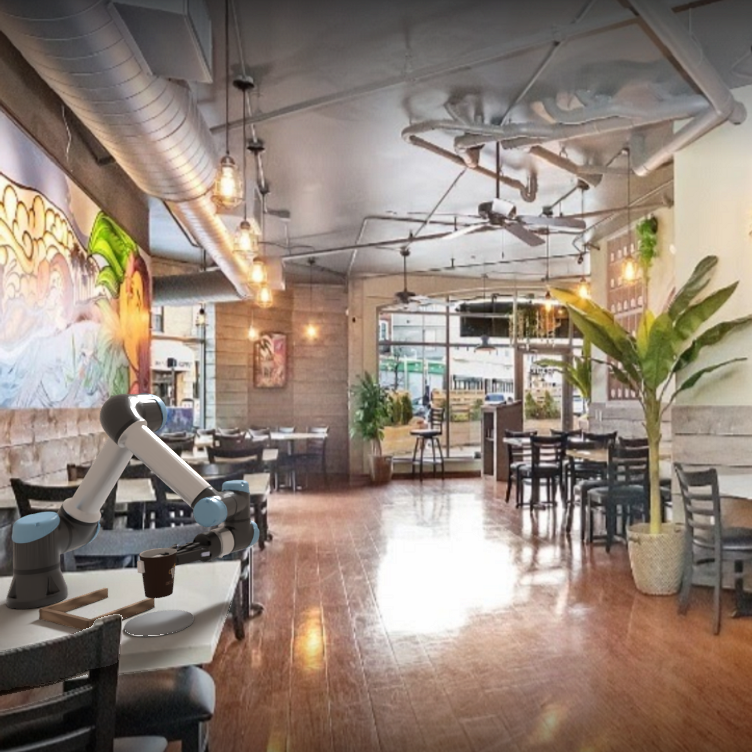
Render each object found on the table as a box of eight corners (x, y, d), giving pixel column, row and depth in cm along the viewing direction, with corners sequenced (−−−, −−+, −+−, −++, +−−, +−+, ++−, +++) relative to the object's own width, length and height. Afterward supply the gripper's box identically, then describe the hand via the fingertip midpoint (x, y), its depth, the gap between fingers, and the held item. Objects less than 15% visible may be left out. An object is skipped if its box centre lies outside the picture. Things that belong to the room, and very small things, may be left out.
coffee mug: (159, 601, 149) (158, 558, 149) (132, 597, 153) (131, 555, 153) (193, 587, 159) (192, 547, 160) (167, 583, 163) (166, 544, 163)
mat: (129, 617, 162) (129, 614, 162) (194, 610, 165) (194, 606, 165) (119, 640, 146) (119, 637, 146) (192, 632, 150) (192, 628, 150)
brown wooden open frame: (105, 596, 179) (105, 587, 179) (154, 607, 169) (154, 597, 169) (39, 618, 163) (39, 608, 163) (89, 631, 152) (89, 621, 152)
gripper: (230, 561, 168) (158, 586, 148) (195, 556, 175) (122, 580, 154) (229, 532, 168) (157, 553, 148) (194, 528, 175) (121, 548, 155)
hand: (139, 567), depth 151 cm, fingers closed
